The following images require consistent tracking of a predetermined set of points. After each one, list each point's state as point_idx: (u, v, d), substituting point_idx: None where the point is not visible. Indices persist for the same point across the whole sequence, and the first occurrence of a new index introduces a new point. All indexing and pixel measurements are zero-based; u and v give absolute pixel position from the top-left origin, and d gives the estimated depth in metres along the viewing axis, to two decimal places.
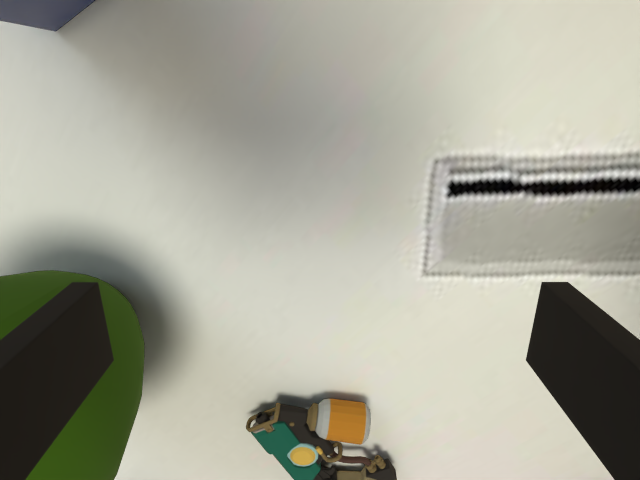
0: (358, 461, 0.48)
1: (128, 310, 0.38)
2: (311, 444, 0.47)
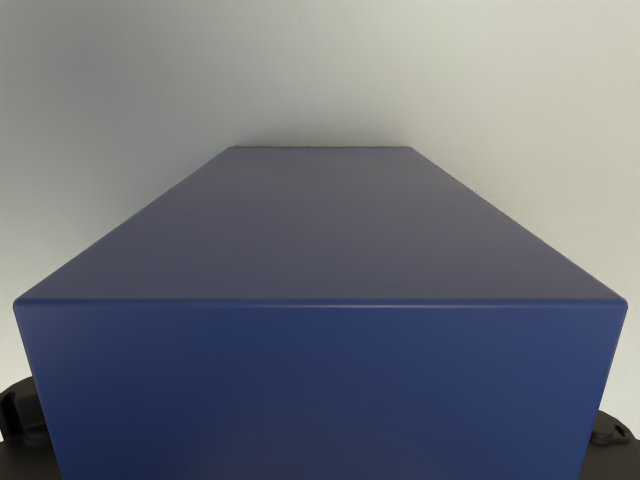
0: None
1: None
2: None
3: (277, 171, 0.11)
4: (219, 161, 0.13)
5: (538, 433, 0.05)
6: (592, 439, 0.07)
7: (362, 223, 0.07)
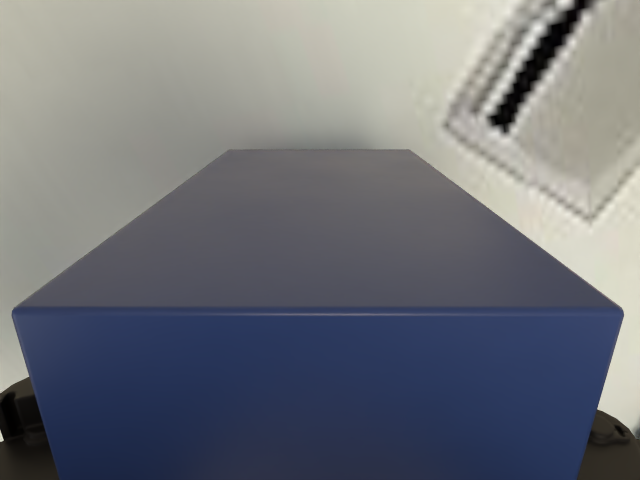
0: None
1: None
2: None
3: (276, 175, 0.11)
4: (218, 164, 0.13)
5: (535, 440, 0.05)
6: (592, 438, 0.07)
7: (360, 229, 0.07)
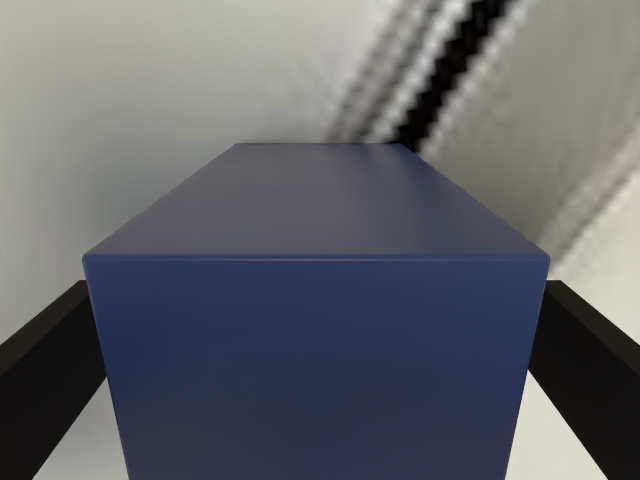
0: None
1: None
2: None
3: (280, 164, 0.13)
4: (228, 156, 0.14)
5: (487, 363, 0.07)
6: None
7: (352, 204, 0.09)
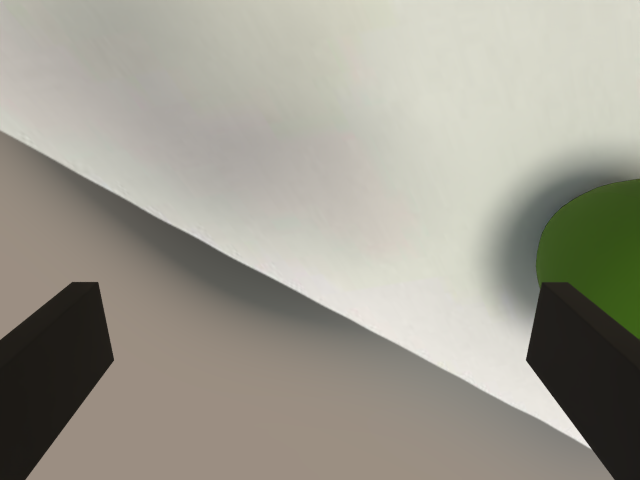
0: None
1: None
2: None
3: None
4: None
5: None
6: None
7: None
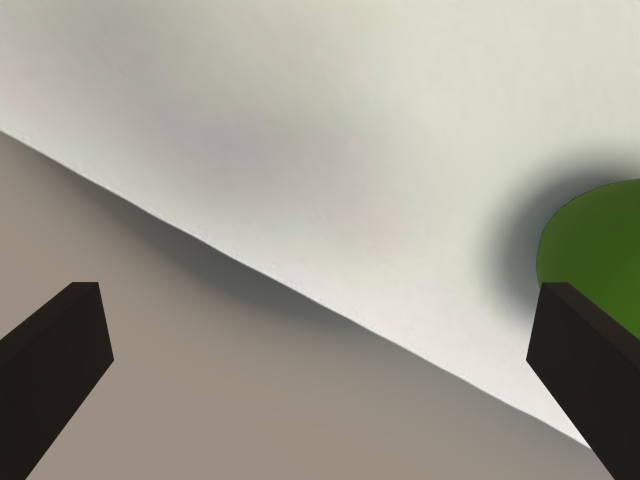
0: None
1: None
2: None
3: None
4: None
5: None
6: None
7: None
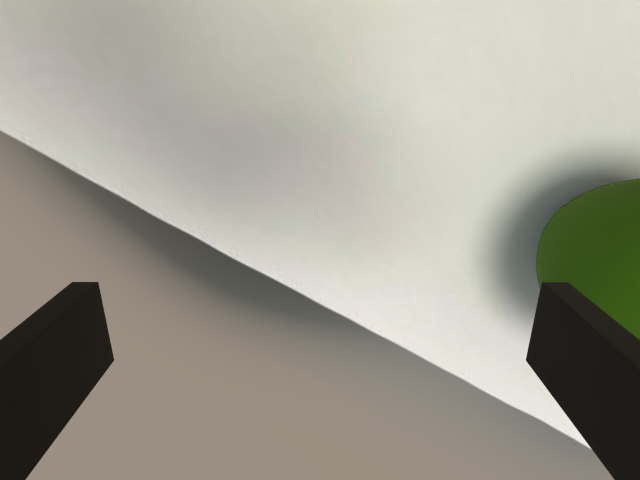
0: None
1: None
2: None
3: None
4: None
5: None
6: None
7: None
